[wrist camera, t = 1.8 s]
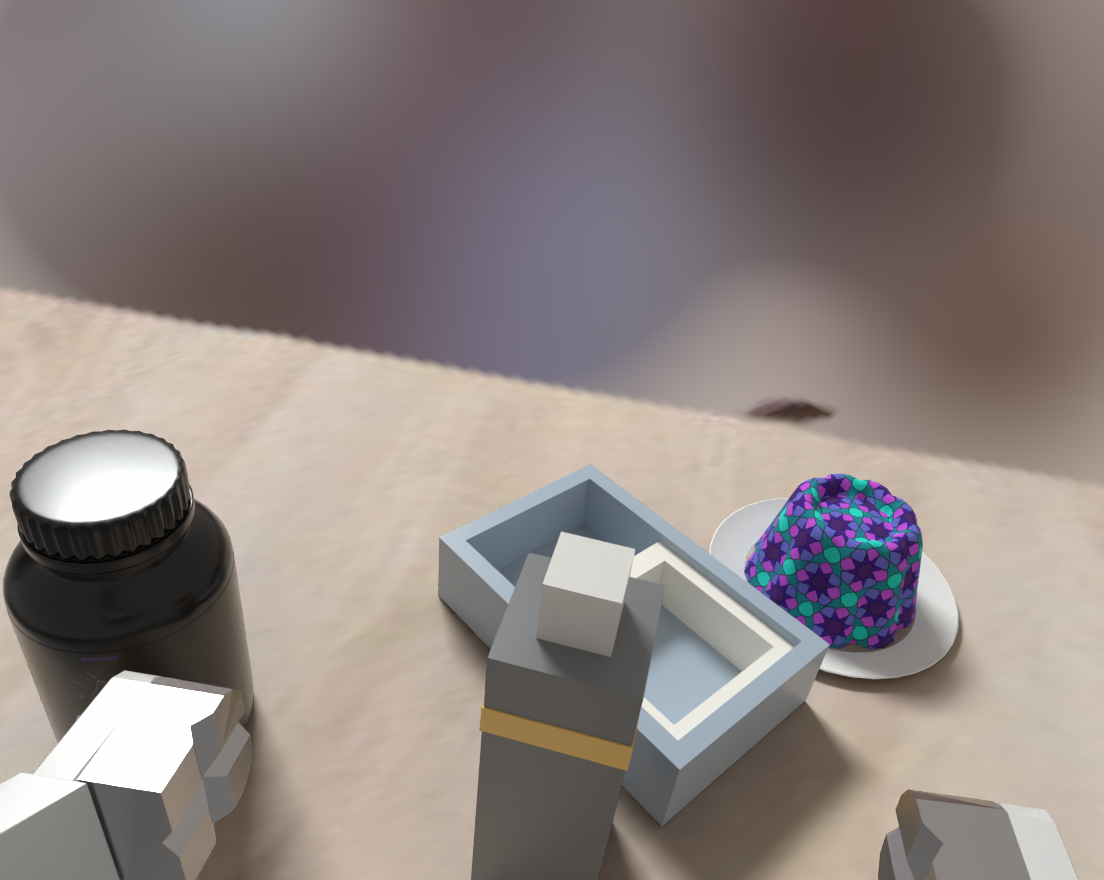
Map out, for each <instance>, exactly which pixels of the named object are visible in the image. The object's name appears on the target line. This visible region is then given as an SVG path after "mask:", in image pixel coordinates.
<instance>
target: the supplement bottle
mask: <svg viewBox="0 0 1104 880" xmlns="http://www.w3.org/2000/svg"><path fill="white" fill-rule="evenodd" d="M11 487H12V489H11V491H10V499H11V502H12V507H13V511H14V514H15V517H16V520H17V522H18V533H19V536H20V539H21V540H20V542H19V543H18V545H17V546H16V548H15V549H14V551H13V553H12V555H11V557H10V559H9V561H8V564H7V567H6V570H5V574H4V579H3V596H4V601H5V604H6V608H7V611H8V615H9V617H10V620H11V623H12V625H13V628H14V630H15V633H16V636H17V638H18V641H19V644H20V646H21V649H22V651H23V654H24V657H25V659H26V662H27V664H28V667H29V670H30V672H31V675H32V677H33V680H34V683H35V685H36V688H37V690H38V693H39V696H40V698H41V701H42V703H43V706H44V709H45V711H46V714H47V716H48V719H49V722H50V724H51V727H52V729H53V732H54V735H55V737H56V739H57V742H58V743H59V742H60V740H61V739H62V738H63V737H64V736H65V734H66V733H67V732H68V731H69V729H70V728H71V727H72V726H73V724H74V723H75V722H76V721H77V720H78V718H79V717H80V716H81V715H82V713H83V712H84V711H85V710H86V709H87V707H88V706H89V705H90V704H91V702H92V701H93V700H94V699H95V698H96V696H97V695H98V694H99V693H100V691H101V690H102V689H103V688H104V687H105V685H106V684H107V683H108V682H109V680H110V679H112V678H113V677H114V676H116V675H118V674H120V673H121V672H123V671H131V672H137V673H143V674H149V675H155V676H162V677H168V678H173V679H179V680H184V681H190V682H196V683H201V684H207V685H212V686H218V687H223V688H229V689H234V690H238V691H241V694H242V698H243V702H244V706H245V712H244V713H243V715H242V717H241V718H240V720H239V724H240V725H241V726H242V727H243V728H245V726H246V724H247V722H248V719H249V716H250V713H251V710H252V704H253V682H252V674H251V666H250V659H249V652H248V645H247V639H246V632H245V625H244V618H243V612H242V605H241V598H240V592H239V585H238V578H237V571H236V565H235V558H234V552H233V548H232V543H231V539H230V536H229V534H228V531H227V529H226V528H225V526H224V524H223V523H222V521H221V520H220V519H219V518H218V516H217V515H215V514H214V513H213V512H212V511H211V510H210V509H209V508H208V507H206V506H205V505H204V504H202V503H201V502H199V501H197V500H196V499H194V497H193V492H192V489H191V486H190V485H189V481H188V475H187V470H186V465H185V462H184V460H183V459H182V456H181V453H180V451H178V450H176V449H175V448H174V446H173V444H171V443H168V442H166V441H165V439H164V438H159V437H156V436H155V435H153V434H146V433H143V432H140V431H128V430H118V431H115V430H106V431H102V432H91V433H88V434H83V435H76V436H74V437H72V438H70V439H65V440H62V441H60V442H58V443H57V444H55V445H52V446H49V447H47V448H45V449H44V450H43V451H42V452H40V453H37V454H35V455H34V456H33V457H32V459H31V460H29V461H27V462H25V463H24V465H23V467H22V469H20V470H19V471H18V472H16V478H15V479H14V480H13V481H12V482H11Z"/></svg>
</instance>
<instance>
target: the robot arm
mask: <svg viewBox="0 0 1104 880" xmlns="http://www.w3.org/2000/svg"><path fill="white" fill-rule="evenodd" d="M244 712H245V706H244V702H243V698H242V694H241V691H238V690H234V689H229V688H223V687H218V686H212V685H207V684H201V683H196V682H190V681H184V680H179V679H173V678H168V677H162V676H155V675H149V674H143V673H137V672H131V671H123V672H121V673H120V674H118V675H116V676H114V677H113V678H112V679H110V680H109V682H108V683H107V684H106V685H105V687H104V688H103V689H102V690H101V691H100V693H99V694H98V695H97V696H96V698H95V699H94V700H93V701H92V702H91V704H90V705H89V706H88V707H87V709H86V710H85V711H84V712H83V713H82V715H81V716H80V717H79V718H78V720H77V721H76V722H75V723H74V724H73V726H72V727H71V728H70V729H69V731H68V732H67V733H66V734H65V736H64V737H63V738H62V739H61V740H60V742H59V743H58V744H57V745H56V747H55V748H54V749H53V750H52V751H51V753H50V754H49V755H48V756H47V758H46V759H45V760H44V761H43V762H42V764H41V765H40V766H39V767H38V769H37V770H36V771H35V772H34V773H33V774H32V773H24V772H21V773H20V774H18V775H16V776H14V777H12V778H10V779H9V780H7V781H5V782H3V783H1V784H0V880H196V879H197V877H198V875H199V873H200V871H201V870H202V868H203V866H204V864H205V862H206V861H207V859H208V857H209V855H210V853H211V851H212V850H213V848H214V846H215V844H216V836H215V831H214V825H213V824H214V823H216V822H217V821H219V820H220V819H222V818H223V817H225V816H226V815H228V814H229V813H231V812H232V811H233V810H234V809H235V807H236V805H237V803H238V801H239V800H240V798H241V796H242V794H243V792H244V790H245V787H246V783H247V780H248V777H249V773H250V770H251V766H252V751H253V748H252V742H251V736H250V734H249V733H248V732H247V731H246V730H245V729H244V728H243V727H242V726H241V725H240V724H239V720H240V718H241V717H242V715H243V713H244ZM896 814H897V819H898V823H899V827H898V828H897V829H895V830H893V831H891V832H889V833H888V834H886V837H885V840H884V843H883V846H882V849H881V852H880V861H879V872H878V880H1079V879H1078V876H1077V874H1076V872H1075V869H1074V867H1073V864H1072V862H1071V860H1070V857H1069V855H1068V852H1067V850H1066V848H1065V845H1064V843H1063V840H1062V838H1061V836H1060V833H1059V831H1058V828H1057V826H1056V824H1055V821H1054V819H1053V818H1052V817H1051V816H1050V814H1049V813H1048V812H1047V811H1046V810H1042V809H1036V808H1029V807H1022V806H1016V805H1009V804H1002V803H995V802H993V801H987V800H980V799H973V798H965V797H958V796H951V795H943V794H936V793H929V792H922V791H914V790H907V791H906V792H905V793H903V794H902V795H901V797H900V800H899V802H898V805H897V807H896Z"/></svg>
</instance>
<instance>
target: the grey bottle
mask: <svg viewBox="0 0 1104 880" xmlns="http://www.w3.org/2000/svg"><path fill="white" fill-rule="evenodd" d="M634 553H635V549H633V548H629V547H624V546H620V545H616V544H612V543H608V542H603V541H599V540H595V539H591V538H586V537H582V536H578V535H574V534H570V533H565V532H561V533H560V536H559V539H558V542H557V545H556V547H555V550H554V553H553V556H552V558H550V557H546V556H542V555H538V554H533V553H528V555H527V558H526V561H525V563H524V566H523V568H522V571H521V573H520V576H519V578H518V581H517V584H516V586H515V589H514V591H513V594H512V596H511V599H510V601H509V604H508V607H507V609H506V612H505V614H504V617H503V619H502V622H501V624H500V627H499V630H498V632H497V635H496V637H495V640H494V642H493V645H492V647H491V650H490V652H489V655H488V658H487V670H486V684H485V698H484V702H483V705H482V708H481V721H480V731H482V738H481V752H480V765H479V779H478V792H477V806H476V819H475V833H474V847H473V860H472V874H471V880H598V878H599V874H600V870H601V866H602V862H603V858H604V854H605V850H606V846H607V842H608V838H609V834H610V830H611V826H612V822H613V818H614V814H615V810H616V806H617V802H618V798H619V794H620V790H621V786H622V782H623V778H624V774H625V770H626V771H628V767H629V763H630V759H631V755H632V751H633V746H634V741H635V736H636V731H637V725H638V720H639V715H640V710H641V706H642V702H643V698H644V693H645V688H646V683H647V678H648V672H649V667H650V662H651V657H652V651H653V646H654V641H655V636H656V631H657V625H658V620H659V615H660V610H661V605H662V599H663V594H664V589H665V585H662V584H658V583H653V582H649V581H645V580H641V579H637V578H633V577H630V573H631V568H632V563H633V558H634Z"/></svg>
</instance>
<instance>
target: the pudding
mask: <svg viewBox="0 0 1104 880" xmlns="http://www.w3.org/2000/svg"><path fill="white" fill-rule="evenodd" d="M757 541H758V542H757ZM755 542H757V543H756V545H755V551H754V553H753V554H752V556H751V557H750V558H749V560H748V561H747V563H746V567H745V574H744V563H745V559H746V556H747V553H748V551H749V550H750V548H751V547H752V545H753V544H754V543H755ZM922 549H923V542H922V534H921V530H920V528H919V527H918V526H917V519H916V515H915V513H914V511H913V510H912V508H911V507H910V506H909V505H908V504H907V503H906V502H905V501H903V500H902V499H900V498H897V497H895V496H892V495H891V493H890V492H889V490H888V489H887V488H886V487H884V486H882V485H881V484H879V483H876V482H873V481H870V480H858V479H856V478H854V477H852V476H850V475H845V474H831V475H828V476H827V477H825V478H812V479H810V480H807V481H805V482H803V483H802V484H800V485H799V486H798V487H797V489H796V490H795V491H794V492H793V494H792V495H791V497H790V498H778V499H771V500H765V501H760V502H757V503H753V504H750V505H747V506H745V507H743V508H741V509H739V510H737V511H735V512H733V513H732V514H731V515H730V516H729V517H727V518H726V519H725V520H724V521H723V522H722V523H721V524H720V526H719V527H718V528H717V530H716V531H715V533H714V535H713V538H712V541H711V543H710V549H709V554H710V555H712V556H713V557H714V558H716V559H717V560H718V561H720V562H721V563H722V564H724V565H725V566H726V567H728V568H729V569H730V570H732V571H733V572H734V573H736V574H737V575H738V576H740V577H741V578H742V579H744V580H745V581H746V579H745V575H746V577H747V580H748V583H750V584H751V585H752V586H754V587H755V588H756V589H757V590H759V591H760V592H761V593H762V594H763V595H765V596H766V597H767V598H769V599H770V600H771V601H773V602H774V603H775V604H777V605H778V606H779V607H781V608H782V609H783V610H785V611H786V612H787V613H789V614H790V615H791V616H793V617H794V618H795V619H797V620H798V621H799V622H801V623H802V624H803V625H805V626H806V627H807V628H809V629H810V630H811V631H813V632H814V633H815V634H817V635H818V636H819V637H820V638H822V639H823V640H824V641H826V642H827V643H828V644H830V645H829V647H832V648H839V649H841V648H843V647H845V646H847V645H849V644H851V643H855V644H857V645H860V646H862V647H865V648H868V649H878V648H885V647H886V646H888V645H889V644H891V643H892V642H894V637H895V631H896V629H901V628H907V627H909V625H910V624H911V622H912V621H913V619H914V612H915V606H916V617H915V622H914V624H913V627H912V629H911V631H910V632H909V633H908V635H907V636H906V637H905V638H904V639H902V640H901V641H900V642H899V643H897V644H895V645H893V646H891V647H889V648H886V649H883V650H878V651H874V652H859V653H855V652H845V651H838V650H834V649H830V648H828V650H827V652H826V655H825V657H824V659H823V661H822V664H821V666H820V668H819V669H820V670H823V671H826V672H831V673H835V674H839V675H844V676H848V677H856V678H867V679H886V678H898V677H902V676H907V675H911V674H915V673H918V672H920V671H922V670H924V669H926V668H929V667H931V666H933V665H934V664H935V663H936V662H938V661H939V660H940V659H941V658H943V657H944V656H945V655H946V653H947V652H948V651H949V649H950V648H951V646H952V645H953V643H954V641H955V638H956V634H957V631H958V617H959V613H958V609H957V604H956V600H955V597H954V595H953V592H952V590H951V588H950V586H949V584H948V582H947V580H946V579H945V577H944V576H943V574H942V573H941V571H940V570H939V569H938V567H937V566H936V565H935V564H934V563H933V562H932V561H931V559H930V558H929V557H928V556H927V555H926V554H925V553H924V552H923V551H922Z"/></svg>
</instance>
